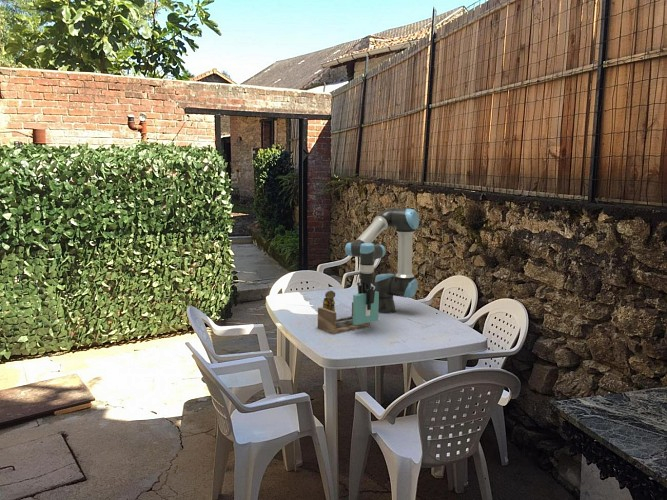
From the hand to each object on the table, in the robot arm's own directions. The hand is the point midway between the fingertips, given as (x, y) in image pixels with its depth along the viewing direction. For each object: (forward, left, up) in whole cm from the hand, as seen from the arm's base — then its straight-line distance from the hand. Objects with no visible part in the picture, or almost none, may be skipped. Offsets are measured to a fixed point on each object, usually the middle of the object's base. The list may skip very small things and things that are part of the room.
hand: (365, 314), depth 290 cm
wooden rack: (+5, -12, -9) cm, 16 cm away
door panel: (0, 0, -4) cm, 4 cm away
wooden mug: (0, -33, -9) cm, 34 cm away
